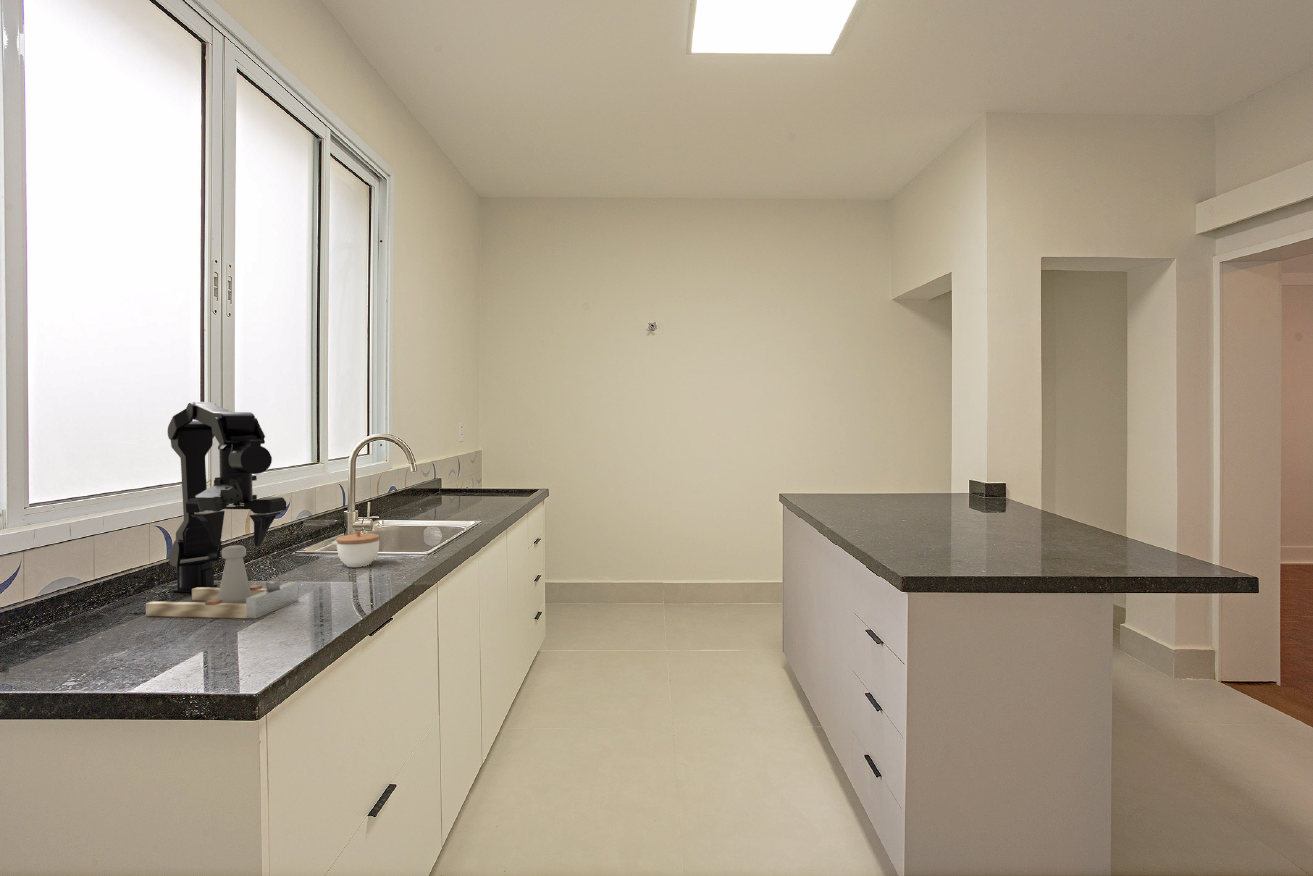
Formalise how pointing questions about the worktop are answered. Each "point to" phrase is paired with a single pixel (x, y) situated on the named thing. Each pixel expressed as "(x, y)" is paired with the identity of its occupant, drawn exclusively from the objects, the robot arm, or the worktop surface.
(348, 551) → the lidded jar
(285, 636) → the worktop surface
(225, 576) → the salt shaker
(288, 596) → the wooden tray
